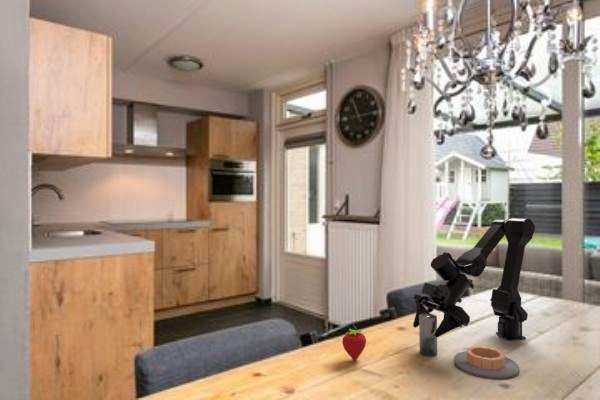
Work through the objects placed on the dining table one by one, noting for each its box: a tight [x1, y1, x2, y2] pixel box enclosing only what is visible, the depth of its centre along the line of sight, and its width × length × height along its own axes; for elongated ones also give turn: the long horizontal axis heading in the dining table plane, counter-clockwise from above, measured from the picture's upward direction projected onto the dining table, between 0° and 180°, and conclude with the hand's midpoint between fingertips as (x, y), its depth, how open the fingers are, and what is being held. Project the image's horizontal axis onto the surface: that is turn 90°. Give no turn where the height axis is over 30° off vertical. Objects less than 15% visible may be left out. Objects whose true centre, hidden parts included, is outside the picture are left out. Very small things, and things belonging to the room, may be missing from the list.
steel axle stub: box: [418, 313, 438, 357], centre depth 115 cm, size 5×5×11 cm
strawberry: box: [342, 325, 367, 361], centre depth 111 cm, size 6×8×10 cm
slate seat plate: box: [453, 345, 520, 380], centre depth 106 cm, size 16×16×4 cm
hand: (424, 331), depth 115 cm, fingers open, 9 cm apart
